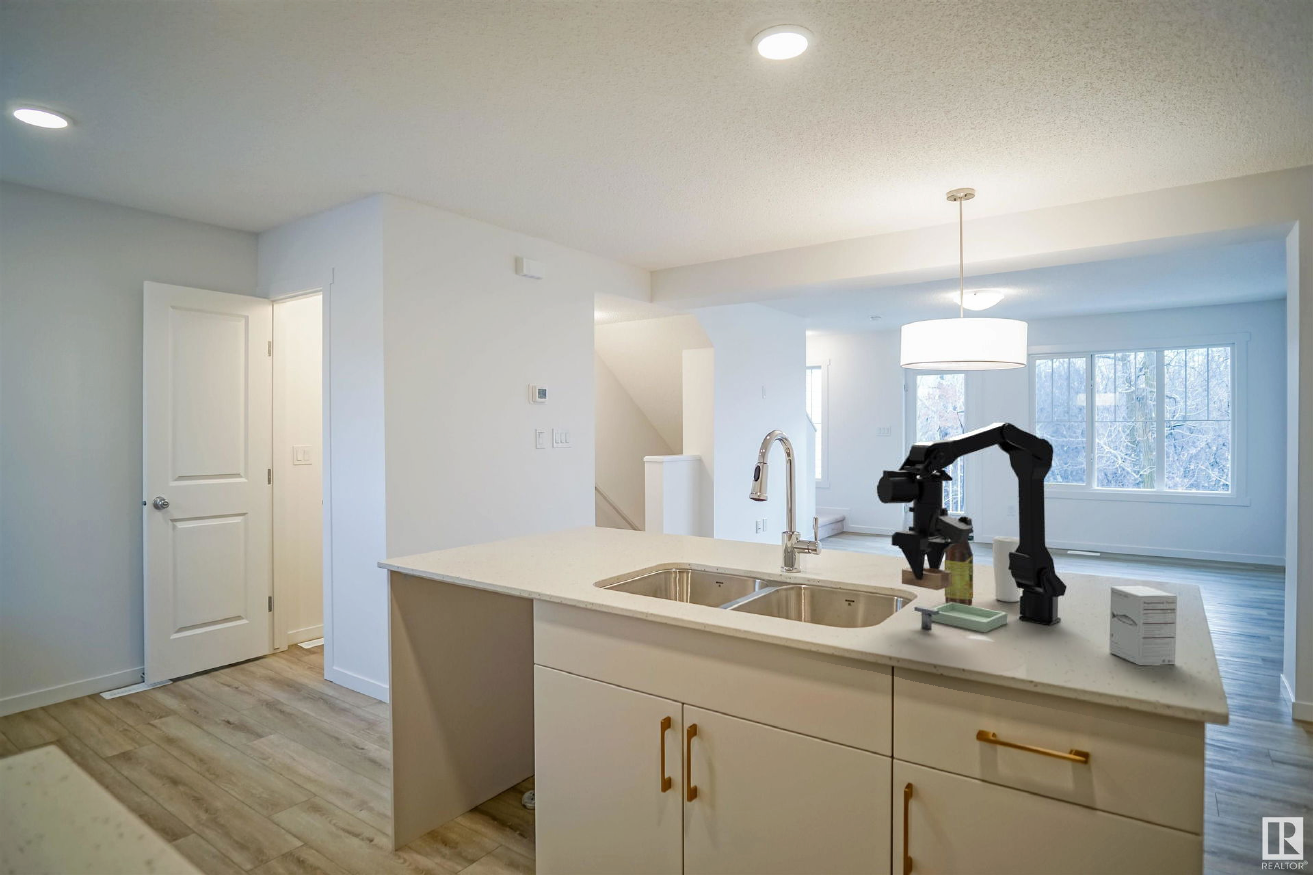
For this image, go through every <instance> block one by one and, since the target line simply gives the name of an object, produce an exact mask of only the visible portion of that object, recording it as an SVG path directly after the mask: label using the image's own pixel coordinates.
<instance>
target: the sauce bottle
mask: <svg viewBox="0 0 1313 875" xmlns="http://www.w3.org/2000/svg"><path fill="white" fill-rule="evenodd" d="M949 542H953V541H951V540H950V539H949ZM944 570H946V571H952V586H950V587H947V588H944V597H945V598H944V599H945V604H946V603H949V602H954V603H959V604H964V605H969V606H973V599H974V553H973V551H972V548H971V545H970V542H969V538H968V539H967V541H966V542H964V541H963V542H961V543H955V544H954V545H952V546H951V547H950V548H948V549H947V550H946V552H945V554H944Z"/></svg>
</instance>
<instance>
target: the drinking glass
mask: <svg viewBox="0 0 1313 875" xmlns="http://www.w3.org/2000/svg"><path fill="white" fill-rule="evenodd" d="M1018 546H1019V537H1011V536H994V537H993V538H992V561H993V562H992V564H993V574H994V577H993V578H994V588H995V589H994V592H995V594H994V596H995V599H996V600H998V601H1001V602H1005V603H1017V602H1020V596H1021V588H1017V586H1016V582H1015V579H1014V578H1013V577H1012V575H1011V570H1008V567H1009V552H1015V550H1016V549H1017V547H1018Z"/></svg>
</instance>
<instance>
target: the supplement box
mask: <svg viewBox="0 0 1313 875" xmlns="http://www.w3.org/2000/svg"><path fill="white" fill-rule="evenodd" d="M1177 608H1178V596H1177V595H1176V594H1173V593H1168V592H1166V591H1163V590H1159V589H1156V588H1153V587H1148V586H1145V585H1124V586H1123V585H1122V586H1121V585H1117V586H1110V609H1109V610H1110V612H1109V645H1108V646H1109V647H1108V652H1109V653H1110V654H1114V655H1116V656H1118V657H1120V658H1123V659H1124V660H1127V661H1128V662H1131V663H1133V662H1134V663H1133V664H1135V663H1136V665H1137V664H1138V665H1137V666H1139V665H1152V666H1155V665H1154V664H1175V665H1176V650H1177V649H1176V644H1177V639H1176V638H1177V615H1178V614H1177V612H1178V609H1177Z"/></svg>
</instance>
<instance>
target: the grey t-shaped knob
mask: <svg viewBox="0 0 1313 875" xmlns="http://www.w3.org/2000/svg"><path fill="white" fill-rule="evenodd" d="M932 608H933V607H932ZM932 608H931V607H925V606H921V605H916V606H914V608H913V610H914V611H915V612H917V613H918V612H919V613H921V620H920V622H921V626H920V628H921V629H922V630H923V631H924V630H925V631H931V630H932V627H933V626H932V625H933V623H932V622H933V621H932V615H938V614H939V610H936V609H932Z"/></svg>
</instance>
